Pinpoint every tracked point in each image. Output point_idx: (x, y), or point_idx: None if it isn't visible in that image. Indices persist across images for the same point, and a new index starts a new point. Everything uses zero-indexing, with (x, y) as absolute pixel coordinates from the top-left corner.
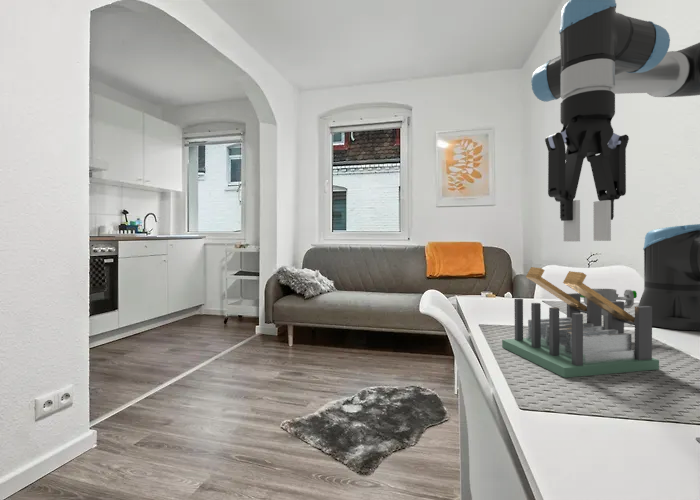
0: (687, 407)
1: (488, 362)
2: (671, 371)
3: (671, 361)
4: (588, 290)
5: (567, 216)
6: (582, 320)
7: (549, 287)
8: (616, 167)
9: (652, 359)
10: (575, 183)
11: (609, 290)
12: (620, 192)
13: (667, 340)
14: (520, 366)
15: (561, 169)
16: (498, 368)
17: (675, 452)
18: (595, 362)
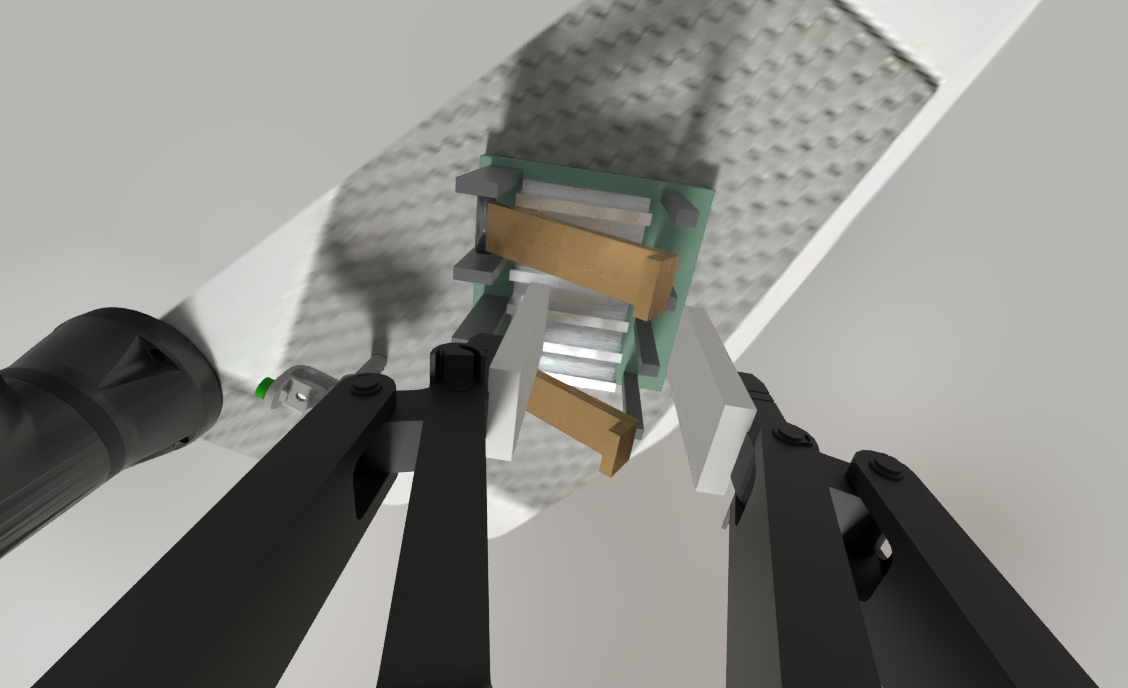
0: None
1: (766, 317)
2: (472, 135)
3: (411, 182)
4: (634, 244)
5: (756, 385)
6: (676, 206)
7: (591, 397)
8: (279, 575)
9: (490, 163)
10: (792, 496)
11: None
12: (385, 389)
13: (281, 291)
14: (729, 274)
15: (1025, 637)
16: (780, 281)
17: None
18: (624, 192)
